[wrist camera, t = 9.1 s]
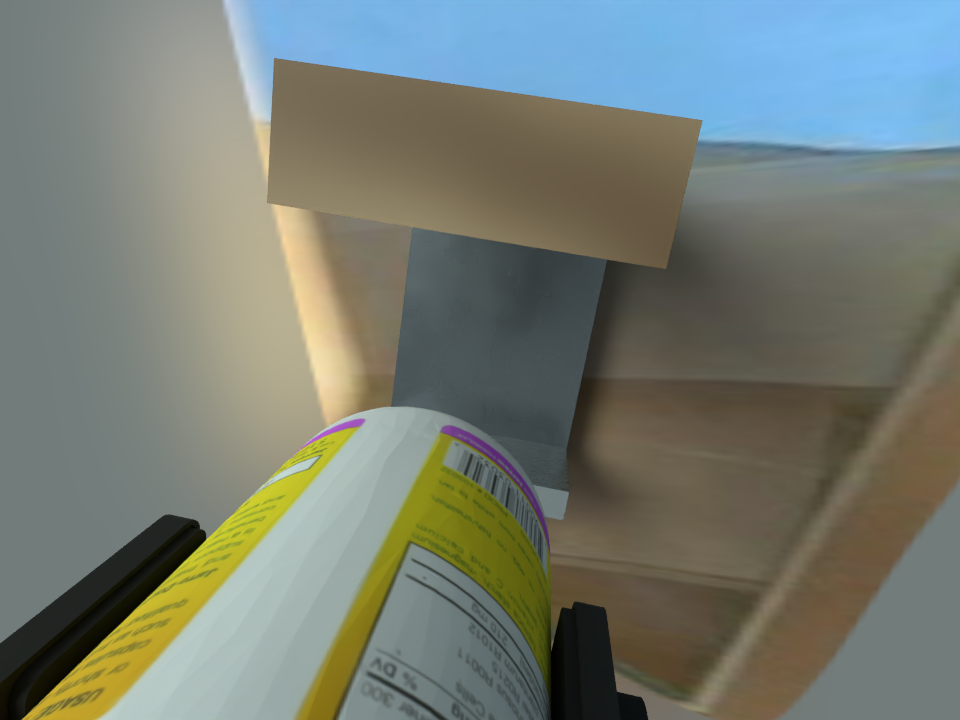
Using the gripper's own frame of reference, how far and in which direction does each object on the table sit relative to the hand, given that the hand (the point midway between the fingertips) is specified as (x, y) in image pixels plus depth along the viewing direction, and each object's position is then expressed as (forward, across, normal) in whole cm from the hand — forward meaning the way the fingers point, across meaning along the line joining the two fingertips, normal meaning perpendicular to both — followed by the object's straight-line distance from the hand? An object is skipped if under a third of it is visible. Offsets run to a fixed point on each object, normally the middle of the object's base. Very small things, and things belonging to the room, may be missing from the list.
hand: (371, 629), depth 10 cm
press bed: (+22, 0, -2) cm, 22 cm away
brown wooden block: (+20, 0, -9) cm, 22 cm away
